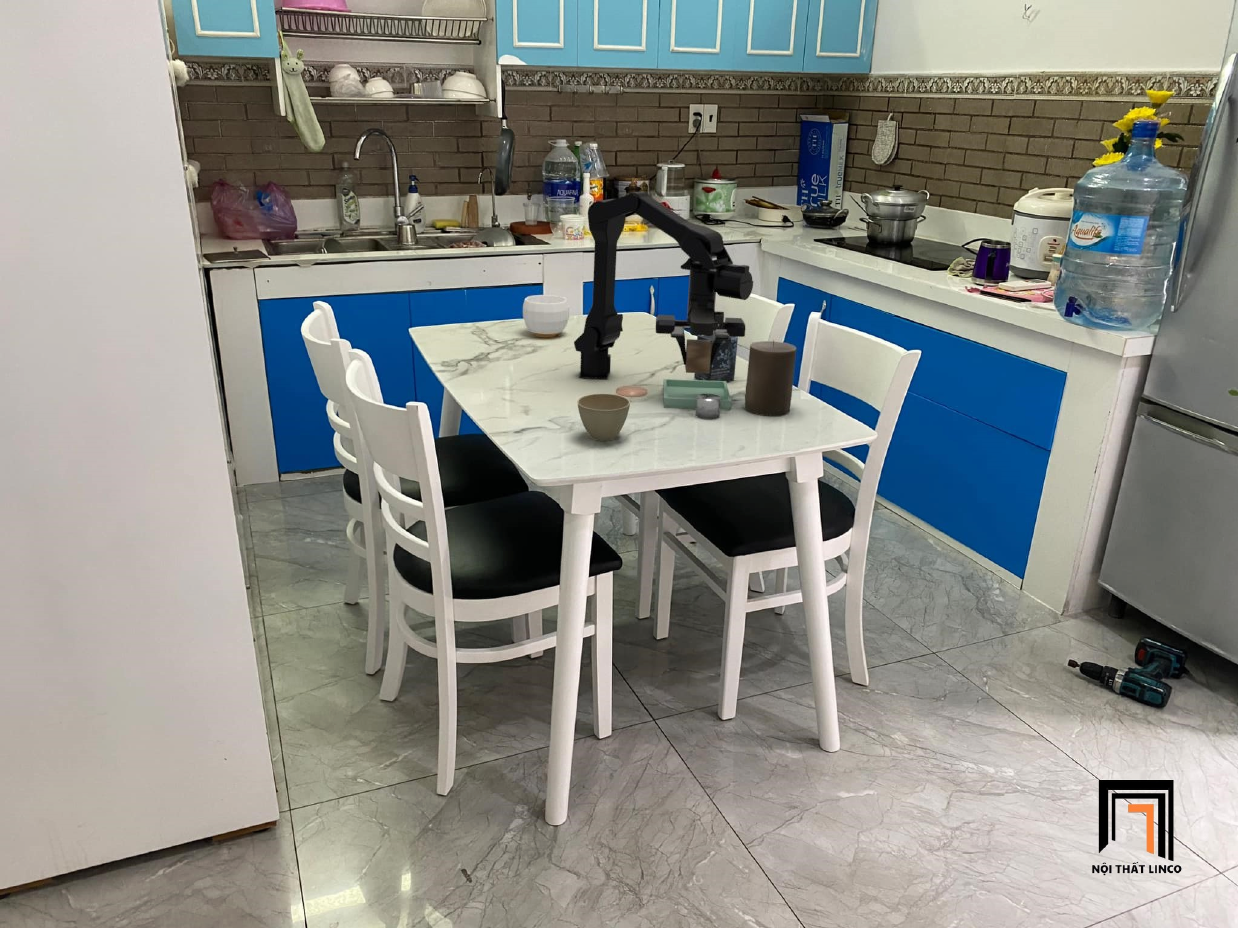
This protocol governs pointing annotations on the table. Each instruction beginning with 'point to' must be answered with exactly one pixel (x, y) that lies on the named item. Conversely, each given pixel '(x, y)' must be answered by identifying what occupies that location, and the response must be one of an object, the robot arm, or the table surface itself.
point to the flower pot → (603, 414)
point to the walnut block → (698, 356)
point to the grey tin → (708, 406)
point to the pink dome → (631, 391)
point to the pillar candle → (770, 378)
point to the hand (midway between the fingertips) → (697, 365)
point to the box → (721, 361)
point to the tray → (693, 392)
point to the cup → (546, 314)
